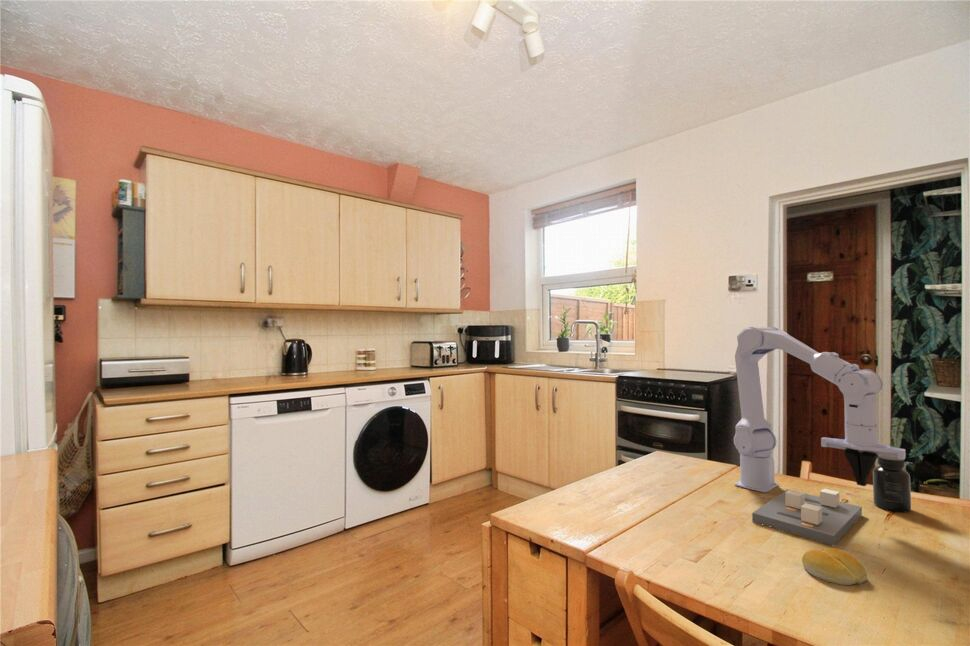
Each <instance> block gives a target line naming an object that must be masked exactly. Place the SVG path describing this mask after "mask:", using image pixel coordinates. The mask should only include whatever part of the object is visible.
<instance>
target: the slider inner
mask: <svg viewBox="0 0 970 646" xmlns="http://www.w3.org/2000/svg"><path fill="white" fill-rule="evenodd" d="M819 497H820V504H822V505H826V506H830V507H834V508H836V507H838V506H839V505H840V503H839V502H840V491H836V490H832V489H828V488H823V489H821V490H820V492H819Z"/></svg>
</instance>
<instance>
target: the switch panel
mask: <svg viewBox="0 0 970 646" xmlns="http://www.w3.org/2000/svg"><path fill="white" fill-rule="evenodd" d="M788 490H789V489H786V490H784V491H783V492H782V493H780V494H779V495H777V496H776V497H774V498H772V499H771V500H769V501H768V502H766V503H765V504H763V505H761V506H760V507H759V508H757V509H756V510H754V511H753V512H752V513H751V517H752V520H751V521H752V523H755V522H756V524H758V523H759V524H758V525H762V524H763V525H762V526H765V525H767V526H766V527H768V526H771V527H770V528H772V527H774V528H773V529H775V528H777V529H776V530H779V529H780V530H779V531H782V530H783V531H782V532H785V531H786V532H785V533H790V534H792V533H793V535H795V534H796V536H799V535H800V537H802V536H803V537H802V538H805V537H806V538H805V539H810V540H812V541H815V540H816V541H815V542H819V543H823V544H826V545H830V546H832V545H833V547H835V545H836V544H837V543H838V542H839V541H840V540H841V539H842V538H843V537H844V536H843V535H845V534H846V533H847V532H848V531H849V530H850V529H851V528H852V527H853V526H852V525H853V524H854V525H855V523H856V522H857V521H859V519H860V518H861V517H862V516H861V515H863V514H862V513H863V512H862V511H863V510H862V509H863V508H862V506H860V505H855V504H852V503H848V502H847V503H846V502H842V501H839V503H840V505H839V506H838V507H836V508H834V507H830V506H826V505H822V504H820V496H817V495H814V494H809V493H805V503H807V504H811V505H815V506H819V507H822V522H821V523H820V524H819V525H816V524H812V523H808V522H805V521H801V509H798V508H794V507H790V506H786V505H785V492H787V491H788ZM851 526H852V527H851ZM842 536H843V537H842ZM841 537H842V538H841Z"/></svg>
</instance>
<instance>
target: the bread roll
mask: <svg viewBox="0 0 970 646" xmlns="http://www.w3.org/2000/svg"><path fill="white" fill-rule="evenodd" d="M801 563H802V565H803V567H804V568H805V570H806V571H807V572H808V573H810V574H811V575H812V576H813V577H815V578H817V579H821V580H822V581H823V580H824V581H826V582H829V583H832V584H836V585H841V586H842V585H843V586H851V585H855V584H858V585H859V584H860V585H861V584H862V583H864V582H866V580H867V579H868V574H867V571H866V567H864V565H863V564H862V562H861V561H859V560H858V558H857V557H855V556H854V555H852V554H850V553H849V552H847V551H845V550H842V549H840V548H834V547H828V548H823V549H822V550H816V549H810V550H808V551H806V552H805V553H804V554H803V555H802V557H801Z"/></svg>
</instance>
